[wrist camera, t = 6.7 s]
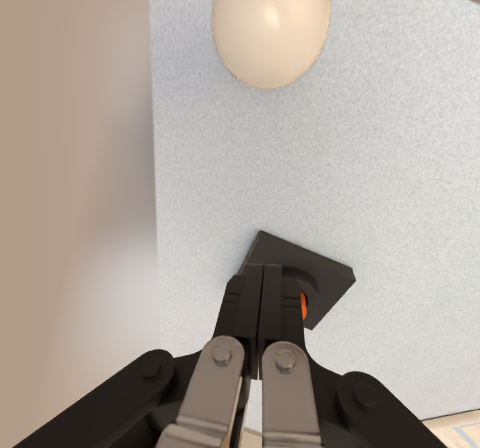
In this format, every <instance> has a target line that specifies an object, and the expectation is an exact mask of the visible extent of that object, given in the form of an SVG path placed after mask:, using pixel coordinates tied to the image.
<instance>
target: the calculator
mask: <svg viewBox="0 0 480 448" xmlns="http://www.w3.org/2000/svg"><path fill="white" fill-rule="evenodd" d="M421 422H422V423H423V424H424V425H425V426H426V427H427V428H428V429H429V430H430V431H431V432H432V433H433V434H434V435H436V436H437V437H438V438H439V439H440V440H441V441H442V442H443V443H444V444H445V445H446V446H447V447H448V448H480V410H476V411H471V412H466V413H461V414H456V415H451V416H446V417H440V418H435V419H430V420H425V421H421Z"/></svg>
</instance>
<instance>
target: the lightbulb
mask: <svg viewBox="0 0 480 448" xmlns="http://www.w3.org/2000/svg"><path fill="white" fill-rule="evenodd" d="M330 20H331V0H213V4H212V14H211V25H212V34H213V39H214V43H215V47H216V50H217V52H218V55H219V57H220V59H221V61H222V62H223V64H224V66H225V67H226V68H227V70H228V71H229V72H230V73H231V74H232V75H233V76H234V77H235V78H236V79H237V80H239V81H240V82H242V83H243V84H245V85H247V86H250V87H252V88H256V89H262V90H273V89H278V88H282V87H285V86H287V85H289V84H291V83H293V82H295V81H296V80H298V79H299V78H300V77H301V76H303V75H304V74H305V73H306V72H307V71H308V70H309V69H310V67H311V66H312V65H313V64H314V62H315V61H316V59H317V58H318V56H319V54H320V52H321V50H322V48H323V46H324V44H325V41H326V38H327V35H328V31H329V26H330Z"/></svg>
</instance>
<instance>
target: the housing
mask: <svg viewBox="0 0 480 448" xmlns="http://www.w3.org/2000/svg"><path fill="white" fill-rule="evenodd" d="M247 263H249V264H264V270H265V264H272V265H282V277H286V278H295V279H296V281H297V283H298V284H299V286H300V288H301V291H302V292H303V294H304V295H305V299H306V311H307V314H306V316H305V318H304V319H303V326H304V327H305V328H307V329H310V330H313V328H314V327H315V326H316V325H317V324H318V323H319V322H320V321H321V319H322V318H323V317H324V316H325V315H326V314H327V313H328V312H329V310H330V309H331V308H332V307H333V306H334V305H335V304H336V303H337V301H338V300H339V299H340V298H341V297H342V296H343V295H344V294H345V292H346V291H347V290H348V289H349V288H350V287H351V286H352V285H353V283H354V282H355V281H356V279H355V276H354V273H353V270H352V268H350V267H348V266H345V265H343V264H340V263H338V262H336V261H333V260H331V259H328V258H326V257H323V256H321V255H319V254H316V253H314V252H311V251H309V250H307V249H304V248H302V247H299V246H297V245H294V244H292V243H290V242H287V241H285V240H282V239H280V238H278V237H275V236H273V235H270V234H268V233H265V232H263V231H261V230H260V231H259V233H258V235H257V237H256V239H255V241H254V243H253V245H252V247H251V249H250V251H249V252H248V254H247V256H246V258H245V260H244V262H243V264H242V266H241V268H240V270H239V272H238V274H237V275H245V270H246V265H247Z"/></svg>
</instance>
